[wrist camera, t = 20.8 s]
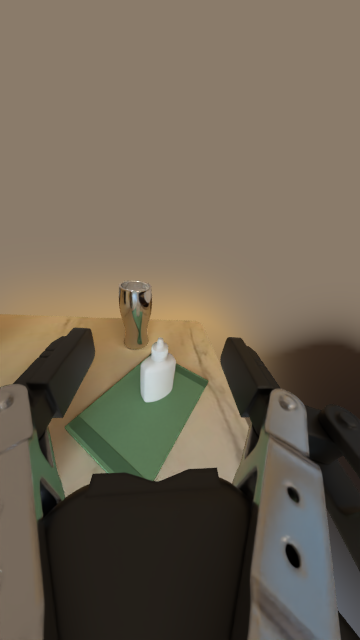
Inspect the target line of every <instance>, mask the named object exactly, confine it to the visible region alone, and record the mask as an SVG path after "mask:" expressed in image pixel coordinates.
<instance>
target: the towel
mask: <svg viewBox="0 0 360 640" xmlns="http://www.w3.org/2000/svg"><path fill="white" fill-rule="evenodd" d="M149 356H151V354H150V355H149ZM149 356H148V357H149ZM148 357H147V358H148ZM143 361H144V360H143ZM143 361H142V362H143ZM142 362H141V363H140V364H139V365H137V366H136V367H135V368H134V369H133V370H132V371H130V372H129V373H128V374H127V375H126V376H124V377H123V378H122V379H121V380H120V381H119V382H117V383H116V384H115V385H114V386H113V387H111V388H110V389H109V390H108V391H107V392H105V393H104V394H103V395H102V396H101V397H100V398H98V399H97V400H96V401H95V402H94V403H92V404H91V405H90V406H89V407H88V408H86V409H85V410H84V411H83V412H82V413H81V414H79V415H78V416H77V417H76V418H74V419H73V420H72V421H71V422H70V423H68V424H67V425H66V426H65V429H66V430H67V431H68V432H69V433H70V435H71V436H72V437H73V438H74V439H75V440H76V441H77V442H78V443H79V444H80V445H81V446H82V447H83V448H84V449H85V450H86V451H87V453H88V454H89V455H90V456H91V457H92V458H93V459H94V460H95V461H96V462H97V463H98V464H99V465H100V466H101V467H102V468H103V469H104V471H105V472H106V473H122V472H126V473H129V474H132V475H136V476H139V477H142V478H145V479H148V480H152V481H154V479H155V478H156V476H157V474H158V472H159V470H160V469H161V467H162V465H163V463H164V461H165V459H166V458H167V456H168V454H169V452H170V450H171V449H172V447H173V445H174V443H175V441H176V440H177V438H178V436H179V434H180V432H181V430H182V429H183V427H184V425H185V423H186V421H187V420H188V418H189V416H190V414H191V412H192V410H193V409H194V407H195V405H196V403H197V401H198V400H199V398H200V396H201V394H202V392H203V391H204V389H205V387H206V385H207V383H208V380H206V379H204V378H202V377H200V376H198V375H197V374H195V373H193V372H191V371H189V370H187V369H185V368H184V367H182V366H180V365H178V364H176V367H175V374H174V381H173V388H172V390H171V392H170V393H169V394H168V395H167V396H165V397H164V398H162V399H160V400H158V401H154V402H145V401H144V400H143V398H142V396H141V389H140V370H141V364H142Z"/></svg>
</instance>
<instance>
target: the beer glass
mask: <svg viewBox="0 0 360 640" xmlns="http://www.w3.org/2000/svg"><path fill="white" fill-rule="evenodd" d="M119 306H120V312H121V316H122V320H123V324H124V327H125V338H124V344H125V346H126V347H128V348H130V349H141V348H144V347H145V346H147V345H148V342H149V339H148V334H147V328H148V323H149V319H150V315H151V308H152V294H151V285H150V284H149V283H146V282H143V281H124V282H122V283H120V284H119Z"/></svg>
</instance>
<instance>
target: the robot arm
mask: <svg viewBox="0 0 360 640" xmlns="http://www.w3.org/2000/svg"><path fill="white" fill-rule="evenodd" d="M94 356H95V347H94V342H93V337H92V332H91V329H89V328H73V329H72V330H71V331H70V332H69V334H68V335H67V336H62V337H60V338H59V339H57V340H55V341H54V342H52V343H51V344H50V345H49V346H48V347H47V348H46V349H45V351H44V352H43V353H42V354H41V355H40V356H39V358H37V359H36V360H35V361H34V362H33V363H32V364H31V365H30V366H29V367H28V369H27V370H26V371H25V372H24V373H23V374H22V375H21V376H20V377H19V378H18V379H17V380H16V381H15V382H14V383H13V384H11V385H6V386H3V387H0V640H360V638H359V637H358V635H357V634H356V633H355V631H354V630H353V629H352V628H351V626H350V625H349V624H348V623H347V622H346V620H345V619H344V618H343V616H342V615H341V614H340V613H339V611H338V610H337V601H336V592H335V583H334V574H333V565H332V557H331V548H330V539H329V530H328V521H327V513H326V508H327V510H328V512H329V514H330V516H331V518H332V519H333V521H334V523H335V525H336V527H337V529H338V531H339V533H340V535H341V537H342V539H343V540H344V542H345V544H346V546H347V548H348V550H349V552H350V554H351V556H352V558H353V560H354V562H355V563H356V565H357V567H358V569H359V571H360V493H359V491H358V489H357V488H356V487H355V485H354V483H353V482H352V480H351V479H350V477H349V476H348V474H347V473H346V472H345V470H344V469H343V467H342V466H341V464H340V463H339V461H338V460H337V459H338V458H340V457H341V456H344V457H345V458H346V460H347V461H348V463H349V464H350V465H351V467H352V468H353V470H354V471H355V472H356V474H357V475H358V477H359V478H360V420H359V419H358V418H357V417H356V416H355V415H353V414H352V413H351V412H349V411H348V410H346V409H344V408H342V407H340V406H337V405H333V404H330V405H327V406H326V407H325V408H324V409H323V410H319V409H315V408H312V407H309V406H306V405H303V403H302V402H301V401H300V400H299V399H298V398H297V397H296V396H295V395H293V394H292V393H290V392H288V391H286V390H283V389H281V388H280V387H279V385H278V384H277V382H276V381H275V379H274V378H273V376H272V375H271V374H270V372H269V371H268V369H267V368H266V367H265V365H264V363H263V362H262V361H261V359H260V358H259V356H258V355H257V353H256V352H255V351H254V350H252V349H251V348H250V347H249V346H246V345H245V343H244V341H243V340H242V339H241V338H234V337H229V338H227V340H226V342H225V345H224V348H223V351H222V354H221V366H222V369H223V371H224V374H225V376H226V379H227V382H228V384H229V387H230V390H231V392H232V395H233V397H234V400H235V403H236V405H237V408H238V410H239V413H240V416H241V417H250V420H251V424H250V426H249V430H248V434H247V438H246V442H245V446H244V450H243V454H242V458H241V461H240V464H239V467H238V469H237V471H236V474H235V476H234V479H233V483H232V484H231V483H230V482H228V481H226V480H224V479H222V478H219V476H218V471H217V468H204V469H188V470H186V471H183V472H181V473H178V474H176V475H174V476H171V477H169V478H166V479H164V480H162V481H159V482H155V481H152V480H148V479H145V478H142V477H139V476H136V475H132V474H129V473H126V472H122V473H101V474H92V478H91V481H90V484H89V485H86V486H84V487H82V488H80V489H78V490H76V491H75V492H73V493H72V494H70V495H69V496H67V497H66V498H65V494H64V490H63V486H62V483H61V480H60V477H59V475H58V472H57V468H56V463H55V458H54V452H53V447H52V442H51V437H50V432H49V428H48V425H49V423H50V421H51V419H52V418H63V417H64V415H65V413H66V411H67V409H68V407H69V405H70V403H71V401H72V400H73V398H74V396H75V394H76V392H77V390H78V388H79V386H80V384H81V382H82V381H83V379H84V377H85V375H86V373H87V371H88V369H89V367H90V365H91V363H92V361H93V359H94Z"/></svg>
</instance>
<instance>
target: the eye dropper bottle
mask: <svg viewBox="0 0 360 640" xmlns="http://www.w3.org/2000/svg"><path fill="white" fill-rule="evenodd" d="M175 367H176V360H175V358H174V357H173V355H172V354H170V353H168V345H167V344H166V343H164V342H163V338H158V341H157V342H155V343H154V344H153V345H152V354H151V356H149V357H148V358H146V359H145V360H144V361H143V362H142V364H141V370H140V389H141V396H142V398H143V400H144V401H145V402H154V401H158V400H160V399H162V398H164V397H165V396H167V395H168V394H169V393H170V392H171V390H172V388H173V381H174V374H175Z"/></svg>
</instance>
